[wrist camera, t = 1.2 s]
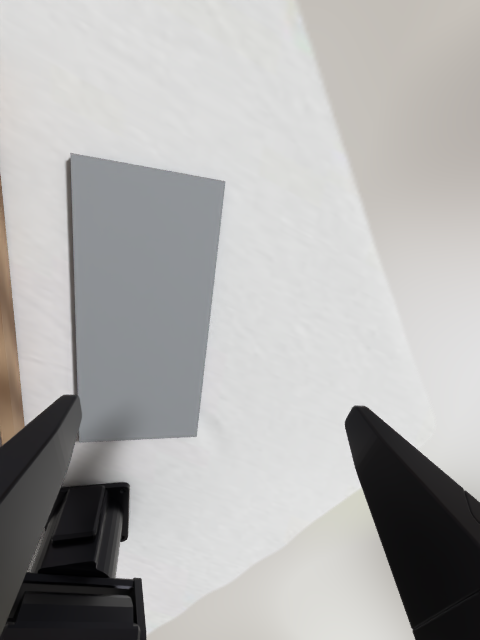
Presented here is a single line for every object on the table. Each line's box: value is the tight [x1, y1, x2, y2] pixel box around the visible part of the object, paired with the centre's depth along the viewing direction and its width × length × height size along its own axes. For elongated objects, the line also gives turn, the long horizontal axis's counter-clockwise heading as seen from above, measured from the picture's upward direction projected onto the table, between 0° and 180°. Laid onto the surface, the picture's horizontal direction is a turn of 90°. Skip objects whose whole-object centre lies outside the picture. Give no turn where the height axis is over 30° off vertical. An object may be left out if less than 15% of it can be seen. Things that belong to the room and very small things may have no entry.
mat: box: [70, 153, 225, 442], centre depth 21 cm, size 20×9×1 cm, turn 172°
